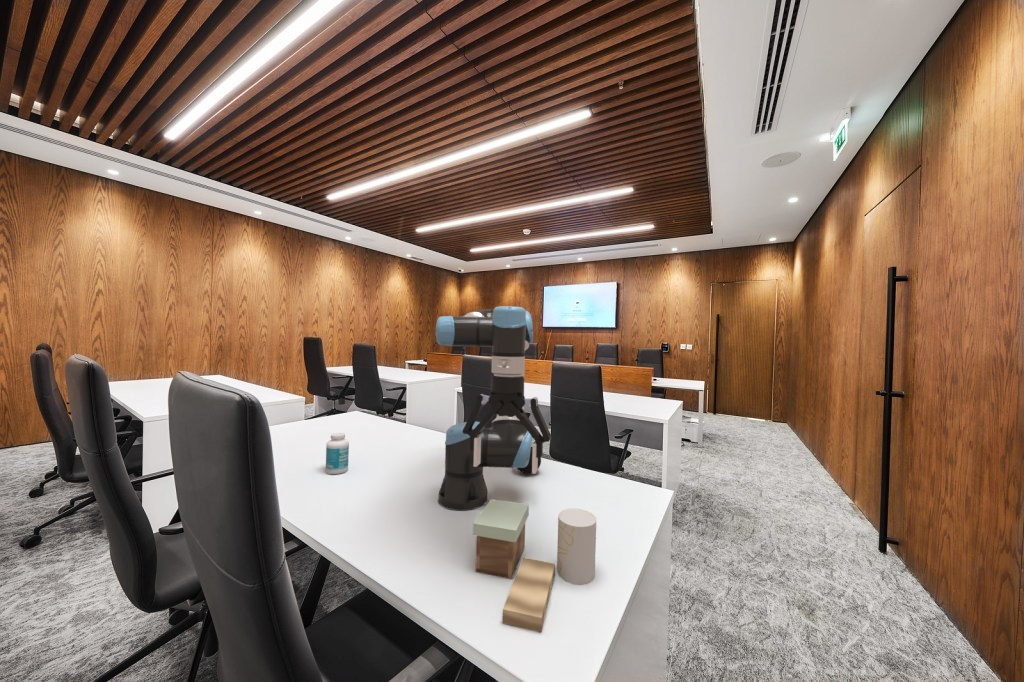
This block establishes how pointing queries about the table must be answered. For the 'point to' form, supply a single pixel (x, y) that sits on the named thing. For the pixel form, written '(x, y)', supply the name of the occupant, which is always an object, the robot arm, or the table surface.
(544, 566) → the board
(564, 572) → the cup
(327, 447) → the pill bottle
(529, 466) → the black ball
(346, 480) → the table surface
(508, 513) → the lid
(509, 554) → the box
